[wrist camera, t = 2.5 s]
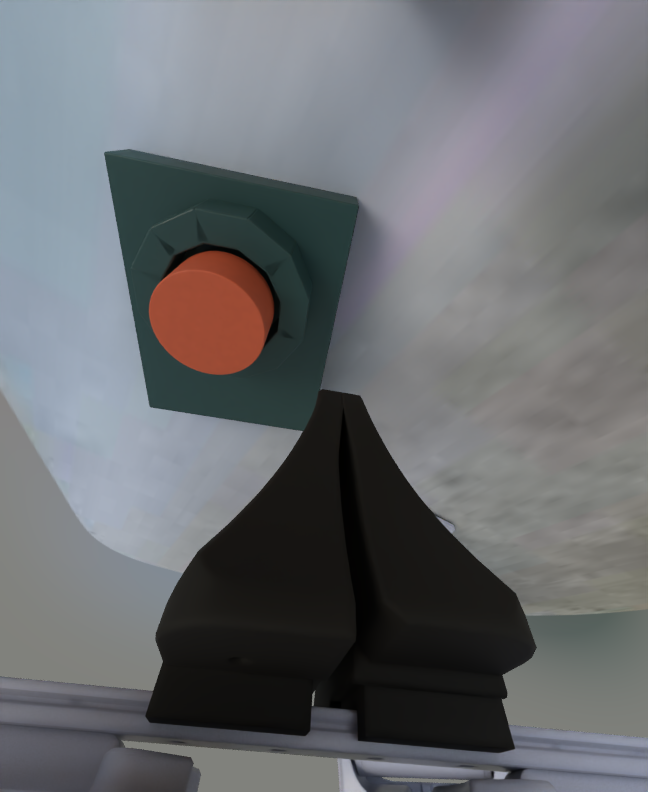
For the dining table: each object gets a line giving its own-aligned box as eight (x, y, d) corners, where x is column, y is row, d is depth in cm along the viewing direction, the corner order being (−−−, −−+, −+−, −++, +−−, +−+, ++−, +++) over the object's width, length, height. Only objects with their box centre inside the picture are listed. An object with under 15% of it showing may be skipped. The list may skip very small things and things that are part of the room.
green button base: (312, 412, 23) (308, 456, 20) (162, 387, 23) (134, 430, 20) (357, 197, 15) (361, 215, 12) (128, 148, 15) (70, 155, 12)
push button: (270, 354, 17) (261, 383, 15) (177, 338, 16) (155, 365, 14) (279, 262, 14) (269, 282, 12) (167, 240, 13) (139, 258, 12)
